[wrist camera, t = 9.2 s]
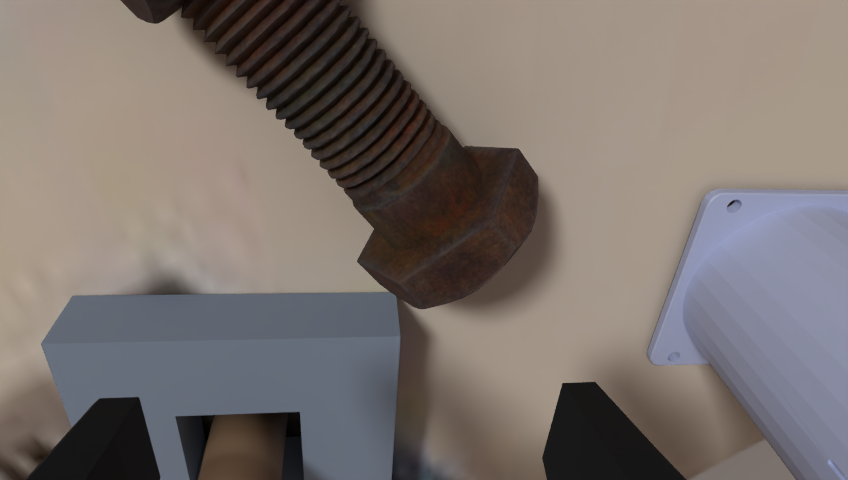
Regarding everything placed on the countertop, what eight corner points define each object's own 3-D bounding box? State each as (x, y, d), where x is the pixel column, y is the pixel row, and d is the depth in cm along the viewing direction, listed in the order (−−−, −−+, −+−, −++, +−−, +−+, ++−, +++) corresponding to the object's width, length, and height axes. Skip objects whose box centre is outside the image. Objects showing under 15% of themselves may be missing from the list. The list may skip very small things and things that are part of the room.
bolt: (109, -277, 14) (464, 176, 20) (-69, -154, 13) (369, 281, 19) (112, -512, 9) (581, 191, 15) (-185, -342, 8) (462, 335, 14)
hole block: (395, 292, 21) (400, 336, 19) (385, 481, 27) (388, 531, 25) (72, 295, 20) (41, 343, 18) (135, 495, 25) (116, 548, 23)
